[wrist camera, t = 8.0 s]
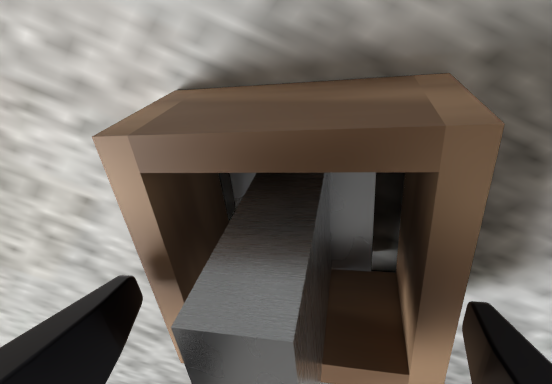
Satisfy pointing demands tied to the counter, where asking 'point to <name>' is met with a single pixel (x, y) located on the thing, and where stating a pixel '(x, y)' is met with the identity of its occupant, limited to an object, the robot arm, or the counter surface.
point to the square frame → (320, 159)
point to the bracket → (275, 277)
